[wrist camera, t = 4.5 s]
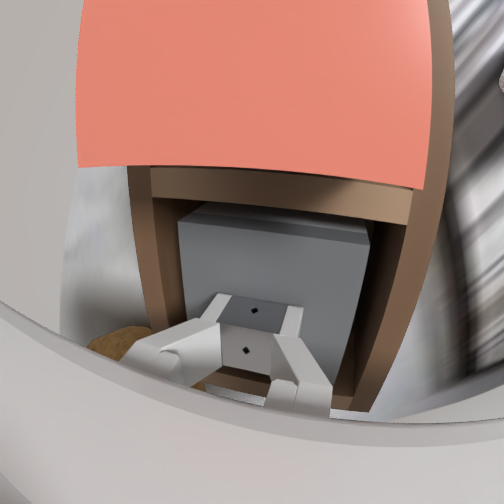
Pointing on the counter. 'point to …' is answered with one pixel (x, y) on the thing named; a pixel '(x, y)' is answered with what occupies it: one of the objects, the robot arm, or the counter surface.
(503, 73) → the pepper shaker
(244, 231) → the grey cube
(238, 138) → the red and grey cube
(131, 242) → the counter surface
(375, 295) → the wooden divided tray
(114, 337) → the potato
